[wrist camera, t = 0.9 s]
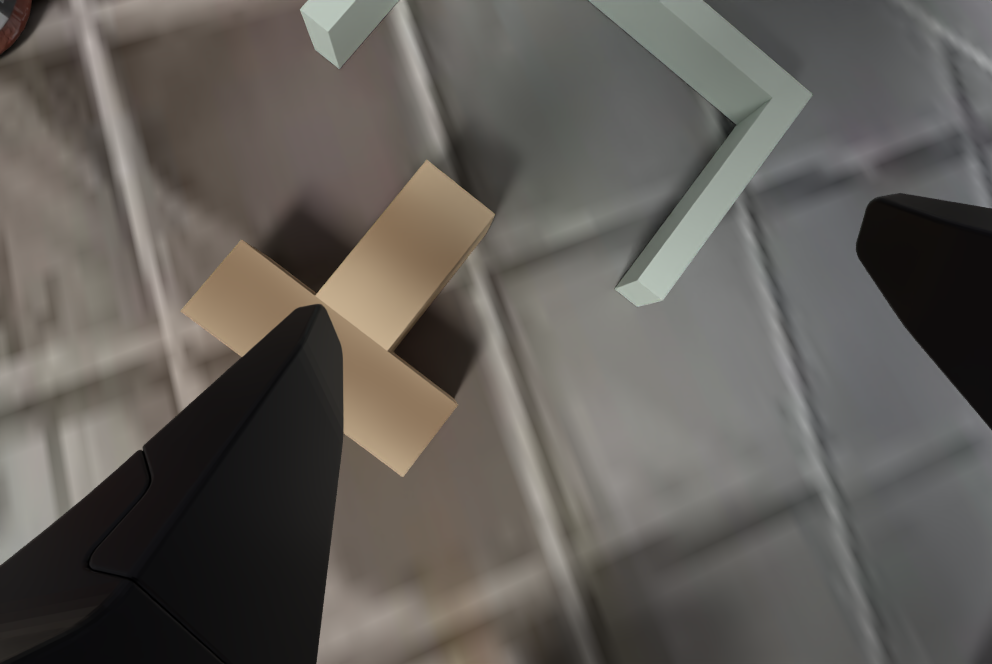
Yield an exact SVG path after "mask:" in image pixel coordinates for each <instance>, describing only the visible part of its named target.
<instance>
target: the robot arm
mask: <svg viewBox="0 0 992 664" xmlns="http://www.w3.org/2000/svg"><path fill="white" fill-rule="evenodd" d="M856 252H857V256H858V258H859V260H860V261H861V263H862V264H863V266H864V267H865V269H866V270H867V272H868V273H869V275H870V276H871V278H872V279H873V281H874V282H875V284H876V285H877V287H878V288H879V290H880V291H881V293H882V294H883V296H884V297H885V299H886V300H887V302H888V303H889V305H890V306H891V308H892V309H893V311H894V312H895V314H896V315H897V317H898V318H899V319H900V321H901V322H902V324H903V325H904V326H905V328H906V329H907V330H908V331H909V333H910V334H911V335H912V336H913V338H914V339H915V340H916V341H917V342H918V344H919V345H920V346H921V347H922V348H923V350H924V351H925V352H926V353H927V354H928V355H929V357H930V358H931V359H932V360H933V361H934V363H935V364H936V365H937V366H938V367H939V368H940V370H941V371H942V372H943V373H944V374H945V376H946V377H947V378H948V379H949V380H950V381H951V383H952V384H953V385H954V386H955V387H956V389H957V390H958V391H959V392H960V393H961V394H962V396H963V397H964V398H965V399H966V400H967V402H968V403H969V404H970V405H971V406H972V407H973V409H974V410H975V411H976V412H977V413H978V415H979V416H980V417H981V418H982V419H983V420H984V422H985V423H986V424H987V425H988V426H989V428H990V429H991V430H992V209H991V208H985V207H980V206H974V205H968V204H962V203H956V202H950V201H944V200H939V199H933V198H927V197H921V196H915V195H909V194H903V193H898V194H891V195H886V196H881V197H877V198H874V199H873V200H872V201H871V202H870V203H869V204H868V206H867V208H866V211H865V214H864V218H863V221H862V225H861V228H860V232H859V235H858V238H857V242H856ZM343 433H344V404H343V352H342V347H341V343H340V341H339V338H338V336H337V333H336V331H335V329H334V326H333V324H332V321H331V319H330V317H329V314H328V312H327V310H326V308H325V307H324V306H323V305H322V304H313V305H308V306H303V307H298V308H296V309H295V310H294V311H293V312H291V313H290V314H289V315H288V316H287V317H286V318H285V319H284V320H283V321H281V322H280V323H279V324H278V325H277V326H276V327H275V328H274V329H273V330H271V331H270V332H269V333H268V334H267V335H266V336H265V337H264V338H263V339H261V340H260V341H259V342H258V343H257V344H256V345H255V346H254V347H253V348H251V349H250V350H249V351H248V352H247V353H246V354H245V355H244V356H243V357H241V358H240V359H239V360H238V361H237V362H236V363H235V364H234V365H233V366H231V367H230V368H229V369H228V370H227V371H226V372H225V373H224V374H223V375H221V376H220V377H219V378H218V379H217V380H216V381H215V382H214V383H213V384H211V385H210V386H209V387H208V388H207V389H206V390H205V391H204V392H203V393H201V394H200V395H199V396H198V397H197V398H196V399H195V400H194V401H193V402H191V403H190V404H189V405H188V406H187V407H186V408H185V409H184V410H182V411H181V412H180V413H179V414H178V415H177V416H176V417H175V418H174V419H172V420H171V421H170V422H169V423H168V424H167V425H166V426H165V427H164V428H162V429H161V430H160V431H159V432H158V433H157V434H156V435H155V436H154V437H152V438H151V439H150V440H149V441H148V442H147V443H146V444H145V445H144V446H143V451H142V450H138V451H137V452H136V453H134V454H133V455H132V456H131V457H130V458H129V459H128V460H127V461H126V462H125V463H123V464H122V465H121V466H120V467H119V468H118V469H117V470H116V471H115V472H113V473H112V474H111V475H110V476H109V477H108V478H106V479H105V480H104V481H103V482H102V483H101V484H100V485H98V486H97V487H96V488H95V489H94V490H93V491H92V492H90V493H89V494H88V495H87V496H86V497H85V498H83V499H82V500H81V501H80V502H79V503H77V504H76V505H75V506H74V507H72V508H71V509H70V510H69V511H68V512H66V513H65V514H64V515H63V516H61V517H60V518H59V519H58V520H57V521H55V522H54V523H53V524H52V525H50V526H49V527H48V528H47V529H45V530H44V531H43V532H42V533H41V534H39V535H38V536H37V537H36V538H34V539H33V540H32V541H31V542H29V543H28V544H27V545H26V546H24V547H23V548H22V549H20V550H19V551H18V552H17V553H15V554H14V555H13V556H12V557H10V558H9V559H8V560H7V561H5V562H4V563H3V564H2V565H0V664H316V662H317V653H318V645H319V637H320V628H321V620H322V612H323V603H324V595H325V587H326V578H327V570H328V562H329V553H330V545H331V537H332V528H333V520H334V512H335V503H336V495H337V486H338V478H339V470H340V461H341V453H342V444H343Z"/></svg>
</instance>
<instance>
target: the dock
mask: <svg viewBox="0 0 992 664" xmlns="http://www.w3.org/2000/svg"><path fill="white" fill-rule="evenodd" d="M398 1H399V0H308V1H307V2H306V3H305V4H304V6H303V7H302V8H301V9H300V11H301V13H302V16H303V19H304V21H305V24H306V27H307V30H308V32H309V35H310V38H311V40H312V43H313V46H314V48H315V50H316V51H317V52H319V53H320V54H321V55H322V56H324V57H325V58H326V59H328V60H329V61H330V62H331V63H333V64H334V65H335V66H336V67H338V68H339V69H340V68H341V67H342V66H343V65H344V63H345V62H346V61H347V60H348V59H349V58H350V56H351V55H352V54H353V53H354V52H355V51H356V50H357V48H358V47H359V46H360V45H361V44H362V43H363V41H364V40H365V39H366V38H367V37H368V36H369V34H370V33H371V32H372V31H373V30H374V29H375V28H376V26H377V25H378V24H379V23H380V22H381V21H382V19H383V18H384V17H385V16H386V15H387V14H388V12H389V11H390V10H391V9H392V8H393V7H394V6H395V4H396V3H397V2H398ZM589 1H590V2H591V3H592V4H593V5H594V6H596V7H597V8H598V9H599V10H600V11H602V12H603V13H604V14H605V15H606V16H608V17H609V18H610V19H611V20H612V21H614V22H615V23H616V24H617V25H618V26H619V27H621V28H622V29H623V30H624V31H625V32H627V33H628V34H629V35H630V36H631V37H633V38H634V39H635V40H636V41H637V42H639V43H640V44H641V45H642V46H643V47H644V48H646V49H647V50H648V51H649V52H650V53H652V54H653V55H654V56H655V57H656V58H658V59H659V60H660V61H661V62H662V63H664V64H665V65H666V66H667V67H668V68H669V69H671V70H672V71H673V72H674V73H675V74H677V75H678V76H679V77H680V78H681V79H683V80H684V81H685V82H686V83H687V84H689V85H690V86H691V87H692V88H693V89H694V90H696V91H697V92H698V93H699V94H700V95H702V96H703V97H704V98H705V99H706V100H708V101H709V102H710V103H711V104H712V105H714V106H715V107H716V108H717V109H718V110H719V111H721V112H722V113H723V114H724V115H725V116H727V117H728V118H729V119H730V120H731V121H733V122H734V123H735V124H736V127H735V128H734V129H733V131H732V132H731V133H730V135H729V136H728V137H727V139H726V140H725V141H724V143H723V144H722V145H721V147H720V148H719V149H718V151H717V152H716V153H715V155H714V156H713V157H712V159H711V160H710V161H709V163H708V164H707V165H706V167H705V168H704V169H703V171H702V172H701V174H700V175H699V176H698V178H697V179H696V180H695V182H694V183H693V184H692V186H691V187H690V188H689V190H688V191H687V192H686V194H685V195H684V196H683V198H682V199H681V200H680V202H679V203H678V204H677V206H676V207H675V208H674V210H673V211H672V212H671V214H670V215H669V216H668V218H667V219H666V220H665V222H664V223H663V225H662V226H661V227H660V229H659V230H658V231H657V233H656V234H655V235H654V237H653V238H652V239H651V241H650V242H649V243H648V245H647V246H646V247H645V249H644V250H643V251H642V253H641V254H640V255H639V257H638V258H637V259H636V261H635V262H634V263H633V265H632V266H631V267H630V269H629V270H628V272H627V273H626V274H625V276H624V277H623V278H622V280H621V281H620V282H619V284H618V285H617V286H616V288H615V290H617V291H618V292H619V293H620V294H622V295H623V296H624V297H625V298H627V299H628V300H629V301H630V302H632V303H633V304H634V305H635V306H637V307H639V306H643V305H647V304H651V303H655V302H659V301H663V299H664V298H665V296H666V295H667V294H668V292H669V291H670V290H671V288H672V287H673V286H674V284H675V283H676V281H677V280H678V279H679V277H680V276H681V275H682V273H683V272H684V270H685V269H686V268H687V266H688V265H689V264H690V262H691V261H692V260H693V258H694V257H695V255H696V254H697V253H698V251H699V250H700V249H701V247H702V246H703V244H704V243H705V242H706V240H707V239H708V238H709V236H710V235H711V234H712V232H713V231H714V229H715V228H716V227H717V225H718V224H719V223H720V221H721V220H722V218H723V217H724V216H725V214H726V213H727V212H728V210H729V209H730V208H731V206H732V205H733V203H734V202H735V201H736V199H737V198H738V197H739V195H740V194H741V192H742V191H743V190H744V188H745V187H746V186H747V184H748V183H749V181H750V180H751V179H752V177H753V176H754V175H755V173H756V172H757V171H758V169H759V168H760V166H761V165H762V164H763V162H764V161H765V160H766V158H767V157H768V155H769V154H770V153H771V151H772V150H773V149H774V147H775V146H776V145H777V143H778V142H779V140H780V139H781V138H782V136H783V135H784V134H785V132H786V131H787V129H788V128H789V127H790V125H791V124H792V123H793V121H794V120H795V119H796V117H797V116H798V114H799V113H800V112H801V110H802V109H803V108H804V106H805V105H806V103H807V102H808V101H809V99H810V98H811V97H812V95H813V94H812V93H811V92H810V91H808V90H807V89H806V88H805V87H804V86H803V85H801V84H800V83H799V82H798V81H797V80H796V79H794V78H793V77H792V76H791V75H790V74H789V73H787V72H786V71H785V70H784V69H783V68H782V67H780V66H779V65H778V64H777V63H776V62H775V61H773V60H772V59H771V58H770V57H769V56H767V55H766V54H765V53H764V52H763V51H762V50H760V49H759V48H758V47H757V46H756V45H755V44H753V43H752V42H751V41H750V40H749V39H748V38H746V37H745V36H744V35H743V34H742V33H741V32H739V31H738V30H737V29H736V28H735V27H734V26H732V25H731V24H730V23H729V22H728V21H727V20H725V19H724V18H723V17H722V16H721V15H720V14H718V13H717V12H716V11H715V10H714V9H713V8H711V7H710V6H709V5H708V4H707V3H705V2H704V1H703V0H589Z"/></svg>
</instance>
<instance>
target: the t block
mask: <svg viewBox="0 0 992 664" xmlns="http://www.w3.org/2000/svg"><path fill="white" fill-rule="evenodd" d="M494 216H495V214H494V213H493V212H492V211H491V210H489V209H488V208H487V207H486V206H484V205H483V204H482V203H480V202H479V201H478V200H477V199H475V198H474V197H473V196H472V195H470V194H469V193H468V192H467V191H465V190H464V189H463V188H462V187H460V186H459V185H458V184H457V183H455V182H454V181H453V180H452V179H450V178H449V177H448V176H447V175H445V174H444V173H443V172H442V171H440V170H439V169H438V168H437V167H435V166H434V165H433V164H431V163H430V162H429V161H428V160H426V161H425V162H424V164H423V165H422V166H421V167H420V168H419V170H418V171H417V172H416V173H415V175H414V176H413V177H412V178H411V179H410V181H409V182H408V183H407V184H406V186H405V187H404V188H403V189H402V190H401V192H400V193H399V194H398V195H397V197H396V198H395V199H394V200H393V201H392V203H391V204H390V205H389V206H388V207H387V209H386V210H385V211H384V212H383V214H382V215H381V216H380V217H379V218H378V220H377V221H376V222H375V223H374V225H373V226H372V227H371V228H370V229H369V231H368V232H367V233H366V234H365V236H364V237H363V238H362V239H361V240H360V242H359V243H358V244H357V245H356V247H355V248H354V249H353V250H352V251H351V253H350V254H349V255H348V256H347V258H346V259H345V260H344V261H343V262H342V264H341V265H340V266H339V267H338V268H337V270H336V271H335V272H334V273H333V275H332V276H331V277H330V278H329V279H328V281H327V282H326V283H325V284H324V286H323V287H322V288H321V289H320V290H319V292H318V293H315V292H314V291H313V290H311V289H310V288H309V287H307V286H306V285H305V284H303V283H302V282H301V281H300V280H298V279H297V278H296V277H294V276H293V275H292V274H290V273H289V272H288V271H286V270H285V269H284V268H283V267H281V266H280V265H279V264H277V263H276V262H275V261H273V260H272V259H271V258H269V257H268V256H267V255H265V254H263V253H262V252H260V251H259V250H257V249H255V248H254V247H252V246H251V245H249V244H248V243H246V242H244V241H243V240H240V242H239V243H238V244H237V245H236V246H235V248H234V249H233V250H232V251H231V252H230V253H229V255H228V256H227V257H226V258H225V259H224V260H223V262H222V263H221V264H220V265H219V266H218V267H217V269H216V270H215V271H214V272H213V273H212V275H211V276H210V277H209V278H208V279H207V280H206V282H205V283H204V284H203V285H202V286H201V287H200V289H199V290H198V291H197V292H196V293H195V295H194V296H193V297H192V298H191V299H190V300H189V302H188V303H187V304H186V305H185V306H184V307H183V309H182V310H181V312H182V313H184V314H185V315H186V316H188V317H189V318H190V319H192V320H193V321H194V322H196V323H197V324H198V325H200V326H201V327H202V328H204V329H205V330H206V331H208V332H209V333H210V334H212V335H213V336H214V337H216V338H217V339H218V340H220V341H221V342H222V343H224V344H225V345H226V346H228V347H229V348H230V349H232V350H233V351H234V352H236V353H237V354H239V355H240V356H241V357H243V356H244V355H245V354H246V353H247V352H248V351H249V350H250V349H251V348H253V347H254V346H255V345H256V344H257V343H258V342H259V341H260V340H261V339H263V338H264V337H265V336H266V335H267V334H268V333H269V332H270V331H271V330H273V329H274V328H275V327H276V326H277V325H278V324H279V323H280V322H281V321H283V320H284V319H285V318H286V317H287V316H288V315H289V314H290V313H291V312H293V311H294V310H295V309H296V308H298V307H303V306H308V305H313V304H322V305H323V306H324V307H325V308H326V310H327V312H328V314H329V317H330V319H331V321H332V324H333V326H334V329H335V331H336V333H337V336H338V338H339V341H340V343H341V347H342V352H343V404H344V434H346V435H347V436H348V437H350V438H351V439H352V440H354V441H355V442H356V443H358V444H359V445H360V446H362V447H363V448H364V449H366V450H367V451H369V452H370V453H371V454H373V455H374V456H375V457H377V458H378V459H379V460H381V461H382V462H383V463H385V464H386V465H387V466H389V467H390V468H391V469H393V470H394V471H395V472H397V473H398V474H399V475H401V476H402V477H403V476H404V475H405V474H406V472H407V471H408V470H409V469H410V467H411V466H412V465H413V463H414V462H415V461H416V459H417V458H418V457H419V455H420V454H421V453H422V451H423V450H424V449H425V448H426V446H427V445H428V444H429V442H430V441H431V440H432V438H433V437H434V436H435V434H436V433H437V432H438V430H439V429H440V428H441V427H442V425H443V424H444V423H445V421H446V420H447V419H448V417H449V416H450V415H451V413H452V412H453V411H454V409H455V408H456V407H457V406H458V404H457V402H456V401H455V399H454V398H453V397H451V396H450V395H449V394H448V393H446V392H445V391H444V390H442V389H441V388H440V387H438V386H437V385H436V384H434V383H433V382H432V381H431V380H429V379H428V378H427V377H425V376H424V375H423V374H421V373H420V372H419V371H417V370H416V369H415V368H414V367H412V366H411V365H410V364H408V363H407V362H406V361H404V360H403V359H402V358H400V357H399V356H398V355H396V354H395V353H394V350H395V349H396V348H397V346H398V345H399V344H400V343H401V341H402V340H403V339H404V338H405V336H406V335H407V334H408V333H409V331H410V330H411V329H412V327H413V326H414V325H415V324H416V322H417V321H418V320H419V319H420V317H421V316H422V315H423V313H424V312H425V311H426V310H427V308H428V307H429V306H430V305H431V303H432V302H433V301H434V300H435V298H436V297H437V296H438V294H439V293H440V292H441V291H442V289H443V288H444V287H445V286H446V284H447V283H448V282H449V281H450V279H451V278H452V277H453V275H454V274H455V273H456V272H457V270H458V269H459V268H460V267H461V265H462V264H463V263H464V262H465V260H466V259H467V258H468V256H469V255H470V254H471V253H472V251H473V250H474V249H475V248H476V246H477V245H478V244H479V243H480V241H481V240H482V239H483V237H484V236H485V235H486V234H487V231H488V229H489V227H490V225H491V223H492V220H493V218H494Z"/></svg>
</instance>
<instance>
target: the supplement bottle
mask: <svg viewBox="0 0 992 664" xmlns="http://www.w3.org/2000/svg"><path fill="white" fill-rule="evenodd" d="M31 3H32V0H0V55H1V54H2V53H3V52H4V51H6V50H7V49H8V48H9V47H10V46H11V45H12V44H13V43H14V42H15V41H16V40H17V39H18V38H19V36H20V34H21V33H22V31H23V30H24V29H25V26H26V22H27V21H28V18H29V15H30V9H31Z"/></svg>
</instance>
